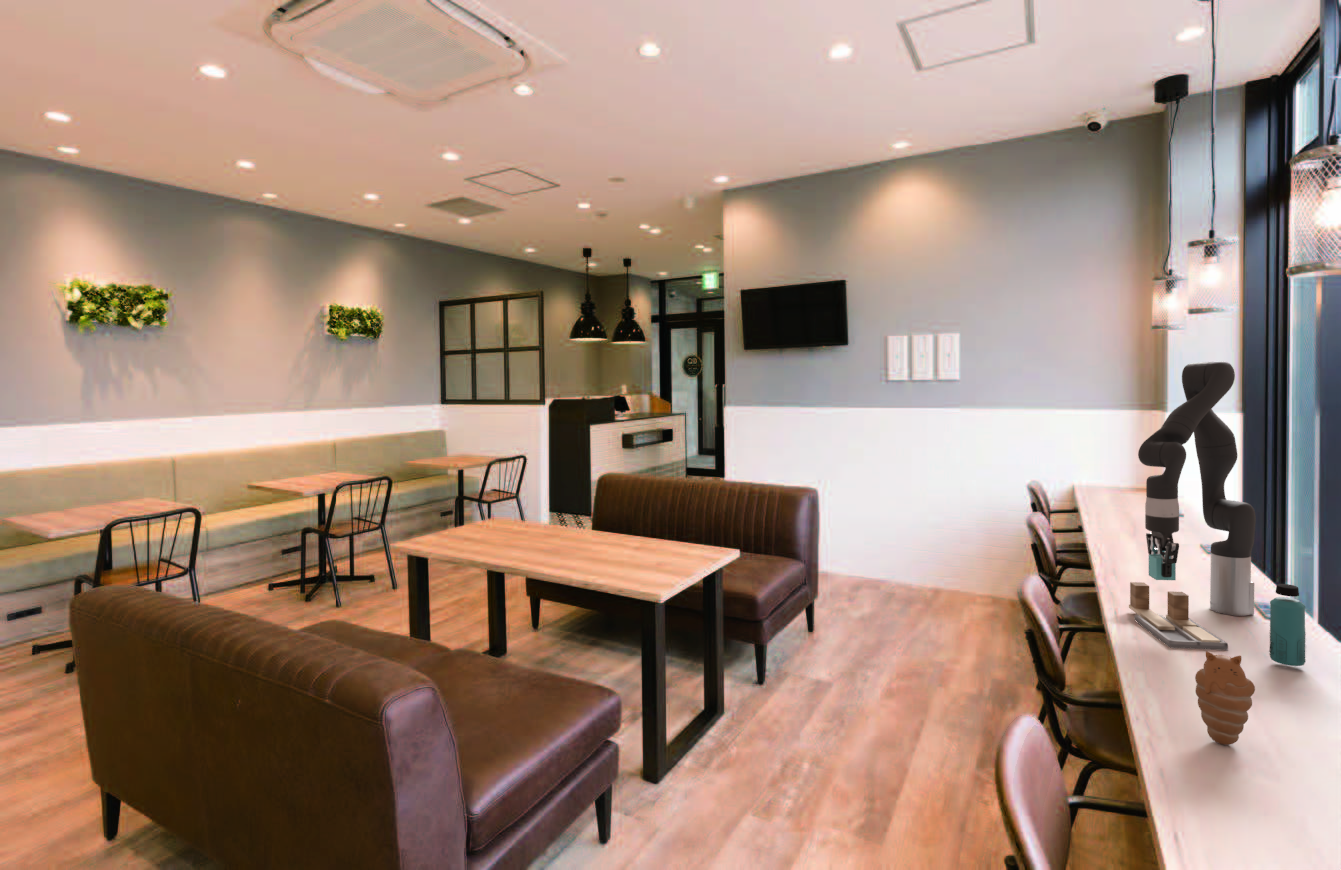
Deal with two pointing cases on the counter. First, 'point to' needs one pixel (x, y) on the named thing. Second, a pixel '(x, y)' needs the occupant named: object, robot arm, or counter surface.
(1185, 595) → the short strip
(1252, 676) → the counter surface
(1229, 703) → the cat ice cream
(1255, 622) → the counter surface
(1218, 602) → the robot arm
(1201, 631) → the lane board
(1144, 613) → the cube strip
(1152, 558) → the teal cube
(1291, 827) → the counter surface
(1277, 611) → the beverage bottle
